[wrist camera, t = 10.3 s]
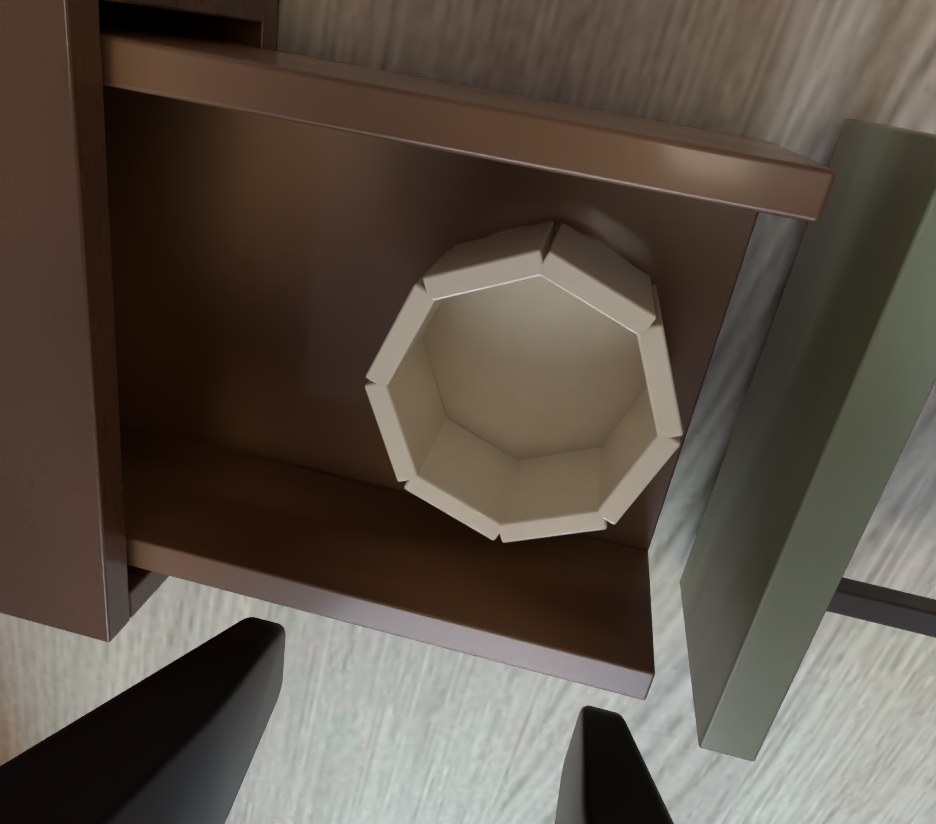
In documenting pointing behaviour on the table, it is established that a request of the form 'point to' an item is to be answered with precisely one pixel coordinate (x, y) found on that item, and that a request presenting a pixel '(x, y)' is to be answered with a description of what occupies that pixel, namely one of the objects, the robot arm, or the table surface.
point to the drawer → (380, 300)
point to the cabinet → (70, 308)
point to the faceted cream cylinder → (528, 384)
